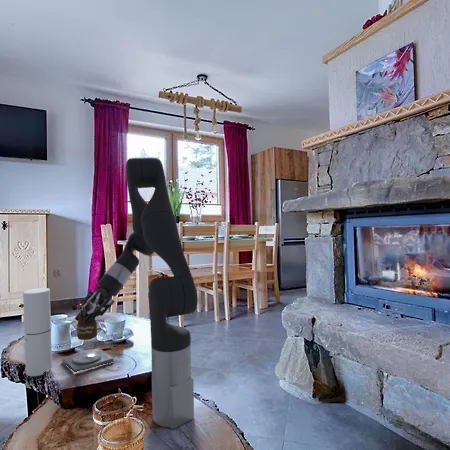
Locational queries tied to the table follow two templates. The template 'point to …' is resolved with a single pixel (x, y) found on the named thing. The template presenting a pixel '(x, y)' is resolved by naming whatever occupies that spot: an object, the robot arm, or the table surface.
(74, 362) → the flange
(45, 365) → the cylindrical container
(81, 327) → the utensil holder
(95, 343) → the table surface
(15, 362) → the table surface
